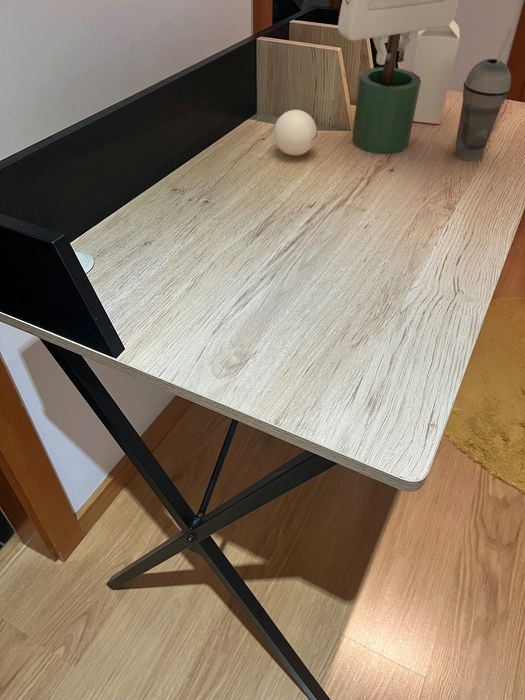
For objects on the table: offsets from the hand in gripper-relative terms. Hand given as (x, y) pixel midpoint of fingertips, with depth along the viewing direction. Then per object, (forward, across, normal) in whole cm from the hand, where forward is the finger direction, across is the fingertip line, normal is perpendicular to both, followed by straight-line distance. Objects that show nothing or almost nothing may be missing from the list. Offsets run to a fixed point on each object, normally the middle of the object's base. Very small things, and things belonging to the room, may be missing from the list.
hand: (390, 62), depth 94 cm
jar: (+13, 0, 0) cm, 13 cm away
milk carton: (+14, +14, +6) cm, 20 cm away
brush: (+10, 0, 0) cm, 10 cm away
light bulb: (+14, -15, +3) cm, 21 cm away
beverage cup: (+14, +11, -11) cm, 21 cm away
